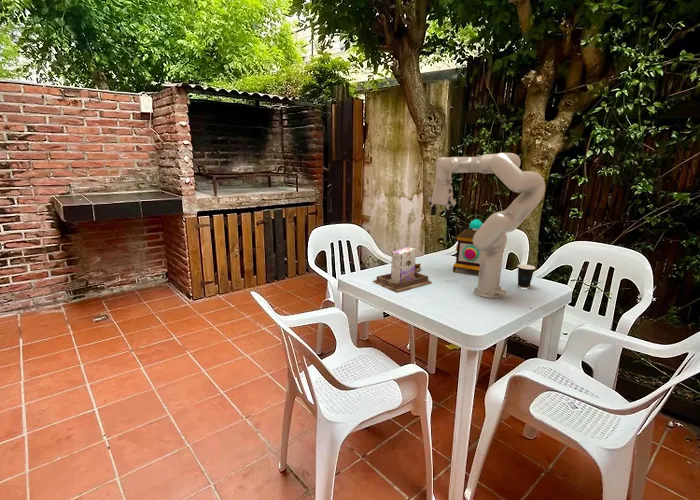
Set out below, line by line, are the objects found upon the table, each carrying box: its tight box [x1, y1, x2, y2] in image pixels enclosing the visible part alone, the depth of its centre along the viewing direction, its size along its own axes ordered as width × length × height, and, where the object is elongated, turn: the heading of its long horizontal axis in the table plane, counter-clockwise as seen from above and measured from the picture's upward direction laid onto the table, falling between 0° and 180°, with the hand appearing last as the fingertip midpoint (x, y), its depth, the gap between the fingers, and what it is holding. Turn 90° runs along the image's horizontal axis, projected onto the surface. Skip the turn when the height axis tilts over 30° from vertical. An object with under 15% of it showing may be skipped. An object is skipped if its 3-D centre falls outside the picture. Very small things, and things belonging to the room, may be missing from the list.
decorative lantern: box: [452, 218, 483, 273], centre depth 208 cm, size 20×20×30 cm
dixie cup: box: [517, 263, 536, 288], centre depth 184 cm, size 8×8×11 cm
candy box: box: [390, 246, 417, 283], centre depth 187 cm, size 14×6×16 cm, turn 139°
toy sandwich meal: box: [415, 262, 422, 273], centre depth 213 cm, size 12×14×5 cm
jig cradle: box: [372, 272, 433, 294], centre depth 188 cm, size 18×24×4 cm
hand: (440, 216), depth 190 cm, fingers open, 9 cm apart
